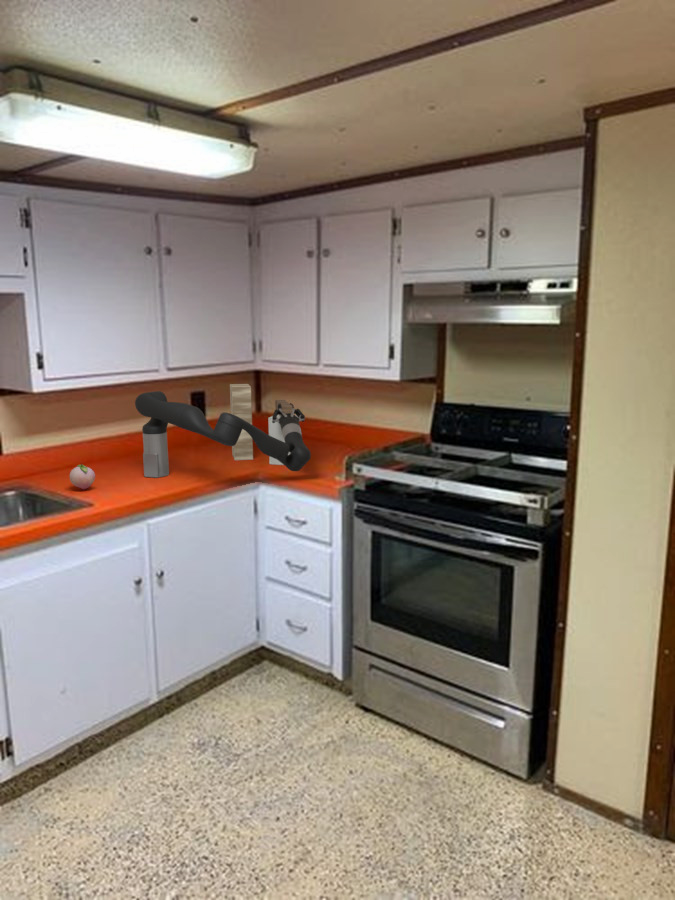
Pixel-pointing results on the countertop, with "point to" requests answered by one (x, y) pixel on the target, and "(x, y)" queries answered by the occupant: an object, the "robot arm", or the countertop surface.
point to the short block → (275, 436)
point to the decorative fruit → (82, 476)
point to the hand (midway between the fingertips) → (285, 405)
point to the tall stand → (243, 410)
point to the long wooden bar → (283, 406)
